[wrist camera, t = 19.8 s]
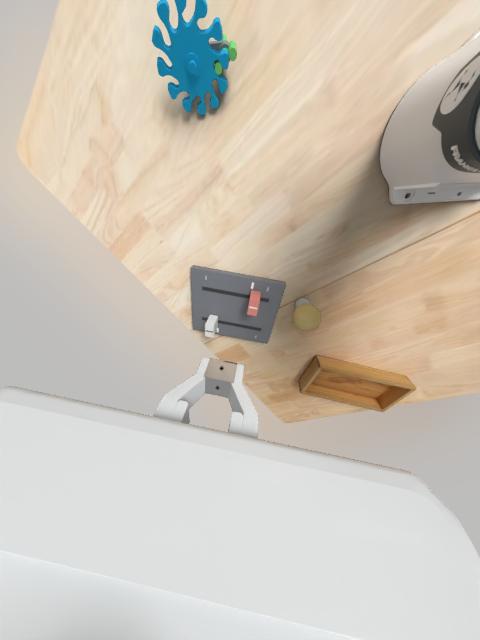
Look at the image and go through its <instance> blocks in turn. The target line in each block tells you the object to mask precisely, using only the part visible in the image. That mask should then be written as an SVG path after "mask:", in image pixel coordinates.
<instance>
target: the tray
mask: <svg viewBox="0 0 480 640" xmlns="http://www.w3.org/2000/svg"><path fill="white" fill-rule="evenodd" d="M298 382H299V388H300V393H303V394H307V395H311V396H315V397H320V398H324V399H328V400H333V401H337V402H341V403H346V404H350V405H354V406H359V407H363V408H367V409H371V410H376V411H380V412H384V411H385V410H387V409H388V408H390V407H391V406H393V405H394V404H396V403H397V402H399V401H400V400H402V399H403V398H404V397H406V396H407V395H409V394H410V393H412V392H413V391H415V390H416V387H415V386H414V385H413V383H412V382H411V381H410V380H409V379H408V377H407V376H404V375H400V374H396V373H392V372H387V371H383V370H379V369H374V368H370V367H366V366H362V365H357V364H353V363H349V362H344V361H340V360H336V359H331V358H327V357H323V356H319V355H316V356H315V358H314V359H313V361H312V362H311V364H310V365H309V366H308V368H307V369H306V371H305V372H304V374H303V375H302V377H301V378H300V380H299V381H298Z"/></svg>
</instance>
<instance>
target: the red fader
mask: <svg viewBox="0 0 480 640" xmlns="http://www.w3.org/2000/svg"><path fill="white" fill-rule="evenodd" d="M260 295H261V292H259V291H254V290H251V295H250V300H249V305H248V311H247V315H253V316H257V311H258V307H259V303H260Z"/></svg>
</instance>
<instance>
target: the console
mask: <svg viewBox="0 0 480 640" xmlns="http://www.w3.org/2000/svg"><path fill="white" fill-rule="evenodd" d="M285 286H286V284H285V282H282V281H277V280H272V279H266V278H261V277H255V276H250V275H244V274H239V273H233V272H228V271H222V270H217V269H211V268H206V267H200V266H195V265H193V266H192V267H191V291H192V318H193V329H194V330H200V331H205V324H206V322H207V320H208V318H209V316H210V315H216V316H218V326H217V330H216V332H215V334H220V335H225V336H230V337H235V338H241V339H246V340H251V341H256V342H261V343H266V344H267V343H268V340H269V337H270V333H271V330H272V327H273V324H274V321H275V318H276V315H277V311H278V308H279V305H280V302H281V299H282V296H283V293H284V289H285ZM251 290H254V291H259V292H261V295H260V303H259V307H258V311H257V316H253V315H247V311H248V305H249V300H250V295H251Z"/></svg>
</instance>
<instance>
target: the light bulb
mask: <svg viewBox="0 0 480 640" xmlns="http://www.w3.org/2000/svg"><path fill="white" fill-rule="evenodd" d="M295 308H296V309H295V310H294V312H293V316H292V320H293V323H294V325H295V326H296V327H297V328H298V329H300V330H303V331H310V330H313V329H315V328H317V327H318V326H319V324H320V322H321V313H320V311H319V309H318V308H317V307H315V306H314V305H311V304H310V302H309V301H308V300H307V299H306V298H300V299H298V300H297V301H296V303H295Z"/></svg>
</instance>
